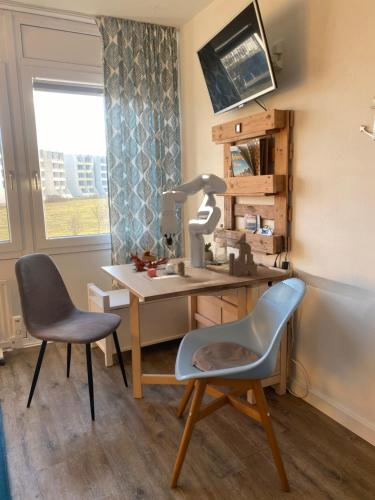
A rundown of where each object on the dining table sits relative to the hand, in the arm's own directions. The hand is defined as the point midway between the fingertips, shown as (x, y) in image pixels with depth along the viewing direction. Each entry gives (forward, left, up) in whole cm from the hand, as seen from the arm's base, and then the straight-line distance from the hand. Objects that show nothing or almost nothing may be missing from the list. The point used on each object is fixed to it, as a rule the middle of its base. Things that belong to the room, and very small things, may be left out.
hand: (169, 245), depth 220 cm
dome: (0, 0, -16) cm, 16 cm away
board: (+4, +3, -18) cm, 19 cm away
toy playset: (+3, -27, -19) cm, 33 cm away
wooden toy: (-38, +19, -19) cm, 47 cm away
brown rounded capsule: (-4, +6, -17) cm, 19 cm away
